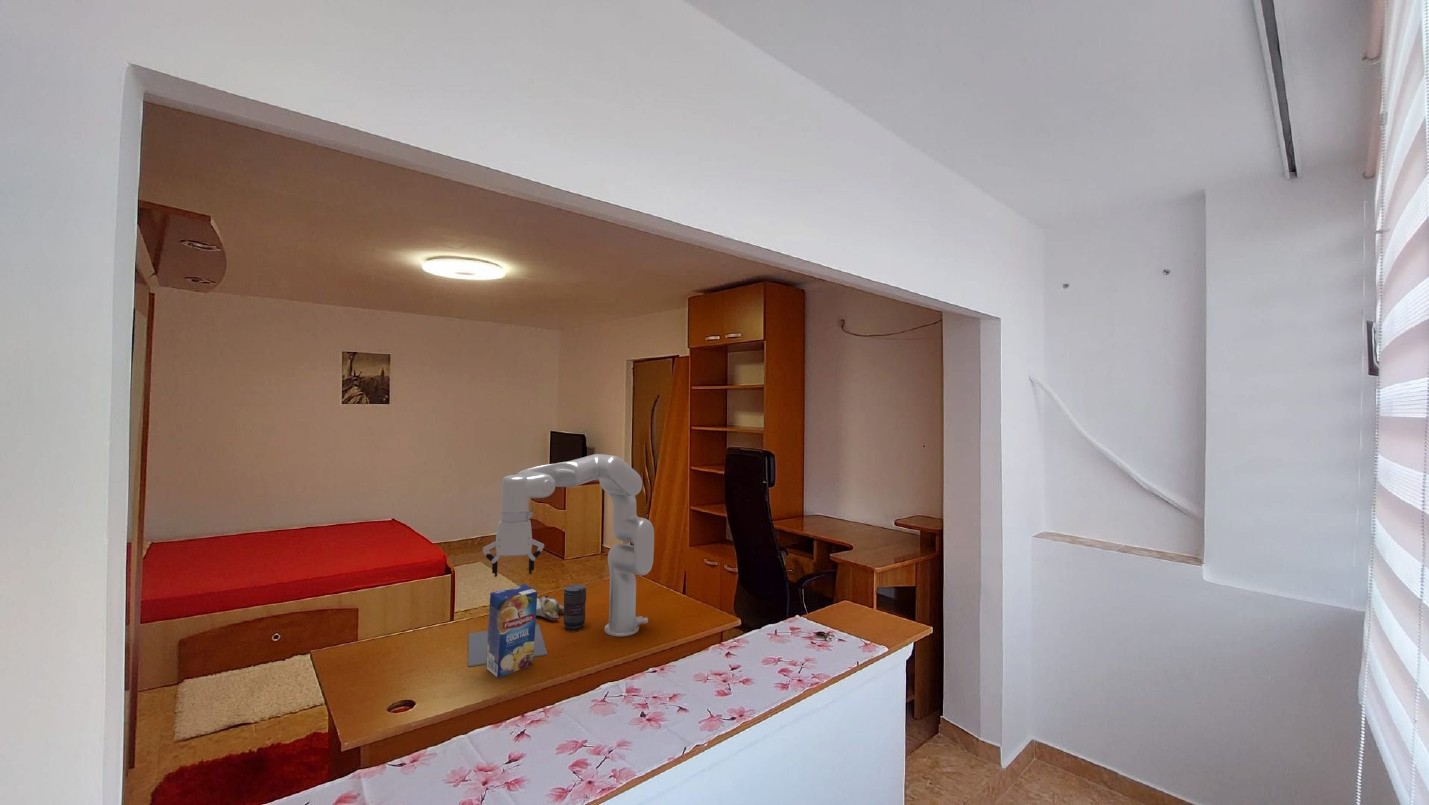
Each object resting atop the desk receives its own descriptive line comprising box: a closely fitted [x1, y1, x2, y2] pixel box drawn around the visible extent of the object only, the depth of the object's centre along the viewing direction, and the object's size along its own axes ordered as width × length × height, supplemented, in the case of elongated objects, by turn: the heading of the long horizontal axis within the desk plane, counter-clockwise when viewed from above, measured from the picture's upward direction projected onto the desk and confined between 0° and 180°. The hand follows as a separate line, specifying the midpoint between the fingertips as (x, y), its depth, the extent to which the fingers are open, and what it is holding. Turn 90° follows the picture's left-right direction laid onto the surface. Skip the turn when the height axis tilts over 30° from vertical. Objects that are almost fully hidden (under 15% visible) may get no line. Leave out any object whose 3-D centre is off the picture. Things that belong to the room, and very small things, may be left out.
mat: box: [467, 623, 548, 668], centre depth 194 cm, size 24×26×1 cm
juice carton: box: [485, 583, 538, 679], centre depth 177 cm, size 12×8×24 cm, turn 139°
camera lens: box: [562, 584, 587, 632], centre depth 209 cm, size 8×8×15 cm
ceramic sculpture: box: [536, 595, 564, 621], centre depth 219 cm, size 11×9×15 cm
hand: (513, 574), depth 168 cm, fingers open, 9 cm apart
